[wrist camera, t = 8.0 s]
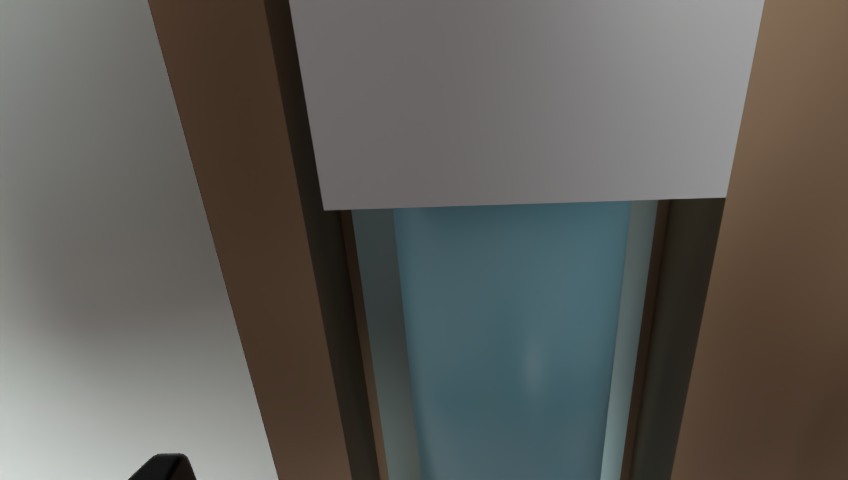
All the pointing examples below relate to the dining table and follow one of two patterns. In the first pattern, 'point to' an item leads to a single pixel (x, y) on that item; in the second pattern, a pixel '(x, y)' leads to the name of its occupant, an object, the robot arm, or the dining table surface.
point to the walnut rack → (641, 288)
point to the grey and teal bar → (518, 191)
